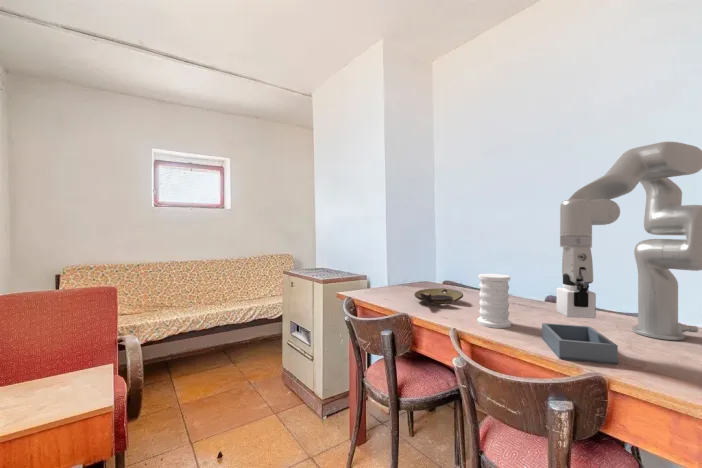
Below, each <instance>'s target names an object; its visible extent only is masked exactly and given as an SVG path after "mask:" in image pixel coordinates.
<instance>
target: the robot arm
mask: <svg viewBox="0 0 702 468" xmlns="http://www.w3.org/2000/svg"><path fill="white" fill-rule="evenodd" d="M701 170H702V149H701V148H699V147H698V146H696V145H692V144H689V143H688V144H687V143H682V142H679V141H661V142H656V143H651V144H646V145H642V146H641V145H640V146H637V147H633V148H631V149H628V150H626V151H624V152H623V153H622V154H621V155H620V156H619V158H618V159H617V160H616V161H615V162H614V163H613V165H612V166H611V167H610V168H609V170H607V171H606V173H605V174H604V175H603V176H600V177H598V178H597V179H594V180H593V181H591V182H589V183H588V184H586V185H584V186H582V187H581V188H579V189H577V190H576V191H575V192H574V193H573V194H572V195H571V196H570V197H569V198H568V199H566V200H563V201H562V202H561V203H560V206H559V207H560V208H559V218H560V219H559V221H560V222H559V230H560V231H559V233H560V234H559V245H560V246H559V247H560V248H562V259H561V261H562V262H561V273H562V274H561V276H562V277H563V274H565V273H566V274H568V275H569V277H570V281H571V282H573V283H574V285H575V291H576V292H574V306H576V307H588V293H589V291H590V289H589V287H590V284H593V282H594V267H593V255H592V249H591V248H593V226H605V225H610V224H613V223H615V222H616V221H617V220H618V219H619V217H620V214H621V207H620V206H619V204H618V203H617V202H616V201H614V199H617V198H619V197H622V196H625V195H627V194H629V193H631V192H632V191H634V189H636V187H637V186H638V184H639V183H640V185H641V186H642V188H643V189H644V191H645V195H646V197H645V198H646V200H645V208H644V219H643V227H644V231H645V232H646V233H648V234H650V235H656V236H686V239H682V238H681V239H677V238H675V239H674V238H648V239H644V240H641V241H639V242H638V243H637V244H635V247H634V250H633V251H634V254H633V255H634V259H635V263H636V267H637V280H638V281H637V290H638V291H637V292H638V293H637V304H638V305H637V308H638V309H637V311H638V312H637V315H638V316H637V317H638V318H637V325H633V326H632V327H631V330H632V332H634V333H635V334H638V335H641V336H645V337H647V338H648V337H649V338H652V339H659V340H665V341H667V340H668V341H683V340H685V339H686V334H685V333H686V332H689V333H698V332H699V328H698V326H696V325H687V324H683V323H681V322H679V282H678V279H677V278H676V276H675V275H674V274H673V272H672V271H671V270H680V271H692V272H693V271H695V272H697V271H699V272H700V271H702V204H685V205H684V204H683V205H682V202H683V201H682V200H683V191H682V189H681V187H680V186H679V185H678V184H676V183H675V182H674V181H673V180H672V179H670V178H673V177H675V178H676V177H681V176H689V175H694V174H696V173H698V172H700V171H701ZM577 279H580V280H582V281H577ZM578 284H580V286H578Z"/></svg>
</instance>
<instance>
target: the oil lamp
mask: <svg viewBox="0 0 702 468" xmlns="http://www.w3.org/2000/svg"><path fill="white" fill-rule="evenodd" d="M413 296H414V297H415V298H416V299H418V300H420V301H421V302H423V303H426V305H429V306H430V305H434V306H435V305H437V306H438V305H439V306H440V305H441V306H442V305H447V304H451V303H453V302H456V301H458V300H459V301H460V299H462V298H464V292H462V291H461V290H460V291H459V290H456V289H452V288H443V287H441V288H439V287H437V288H436V287H435V288H427V289H426V288H423V289H420V290H417V291H415V293H414V295H413Z"/></svg>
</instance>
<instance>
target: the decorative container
mask: <svg viewBox="0 0 702 468" xmlns="http://www.w3.org/2000/svg"><path fill="white" fill-rule="evenodd" d="M477 279H479V284H478V287H479V288H480V291H479V297H480V298H479V307H480V308H479V311H478V312H479V314H480V316H479V317H477V321H476V322H477V324H478V325H481V326H483V327H487V328H492V329H508V328H510V327H512V321H511V320H510V319H509V316H510V311H509V307H510V302H509V299H510V294H509V290H510V285H509V281H511V276H510V275H508V274H501V273H479V274H478V276H477Z"/></svg>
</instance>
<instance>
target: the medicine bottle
mask: <svg viewBox="0 0 702 468" xmlns="http://www.w3.org/2000/svg"><path fill="white" fill-rule="evenodd" d="M577 281H582V280H580V279H577ZM578 286H580V284H578ZM574 292H576V291H575V285H574V283H573V282H571V281H570V277H569V275H568V274H566V273H565V274H563V276H562V287H557V288H556V311H557V312H558V313H559V314H561V315H563V316H565V317H567V318H577V319H578V318H581V319H596V314H597V313H596V310H597V309H596V307H597V306H596V304H597V303H596V302H597V301H596V298H597V296H596V295H597V294H596V292H593V291H592V290H591V291H590V290H589V293H588V307H576V306H574Z"/></svg>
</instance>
